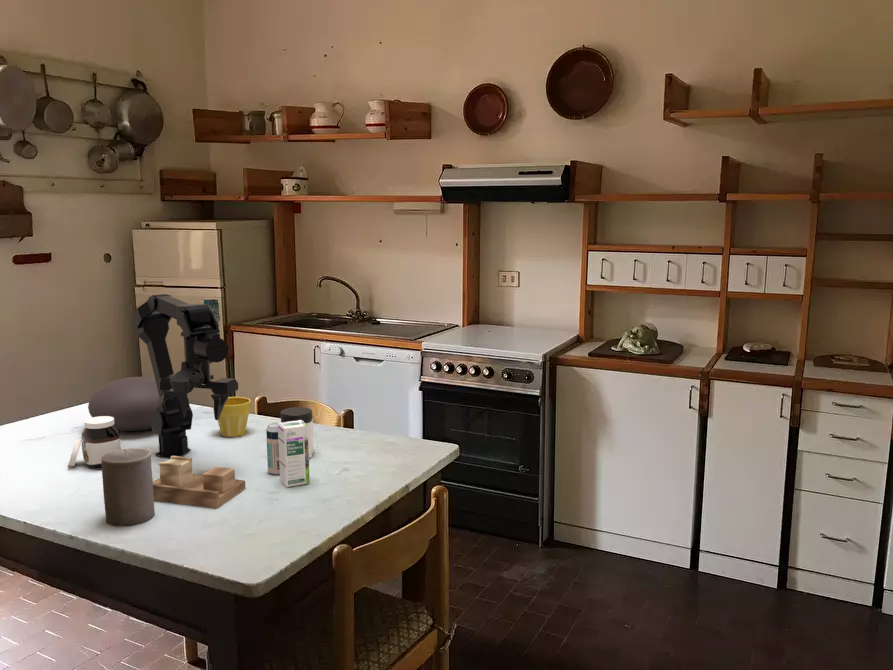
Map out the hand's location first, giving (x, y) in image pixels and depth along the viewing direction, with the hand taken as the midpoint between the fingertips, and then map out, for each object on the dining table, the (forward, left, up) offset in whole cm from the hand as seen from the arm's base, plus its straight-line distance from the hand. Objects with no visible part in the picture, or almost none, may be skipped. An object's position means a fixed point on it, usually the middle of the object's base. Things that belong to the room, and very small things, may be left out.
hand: (200, 418), depth 187 cm
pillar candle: (+2, -30, -13) cm, 33 cm away
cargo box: (+14, -15, -11) cm, 23 cm away
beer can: (+19, +3, -13) cm, 23 cm away
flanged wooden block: (+3, -15, -11) cm, 19 cm away
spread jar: (-28, -5, -13) cm, 31 cm away
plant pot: (-8, +28, -13) cm, 32 cm away
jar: (+18, +16, -13) cm, 27 cm away
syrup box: (+26, -2, -13) cm, 29 cm away
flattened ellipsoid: (-38, +25, -13) cm, 47 cm away
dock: (+7, -15, -13) cm, 21 cm away
